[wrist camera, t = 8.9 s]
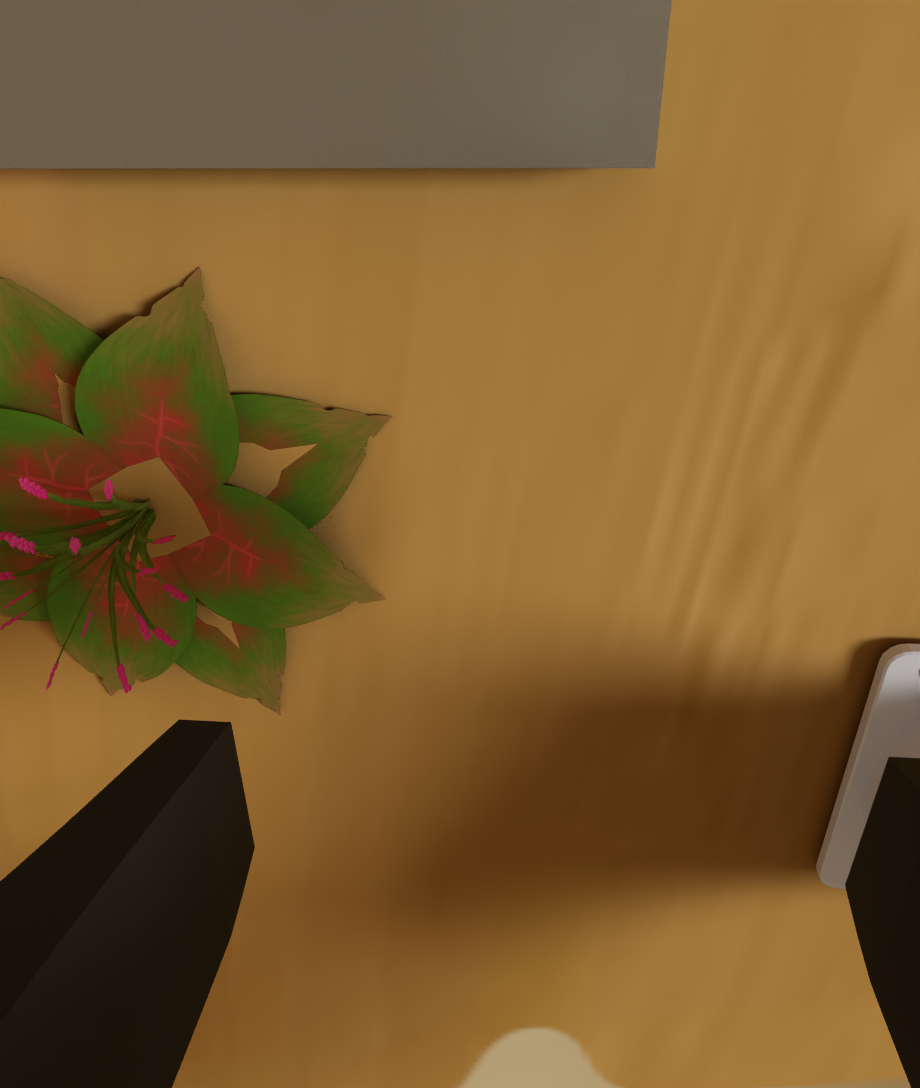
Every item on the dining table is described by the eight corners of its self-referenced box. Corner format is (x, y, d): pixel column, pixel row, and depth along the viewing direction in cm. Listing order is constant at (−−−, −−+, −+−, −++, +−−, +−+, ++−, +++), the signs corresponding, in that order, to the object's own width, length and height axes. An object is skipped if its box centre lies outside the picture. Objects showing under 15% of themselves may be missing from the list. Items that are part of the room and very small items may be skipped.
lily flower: (-90, 132, 16) (-305, 147, 12) (486, 370, 17) (471, 456, 13) (-107, 606, 21) (-255, 725, 17) (323, 754, 23) (279, 895, 19)
